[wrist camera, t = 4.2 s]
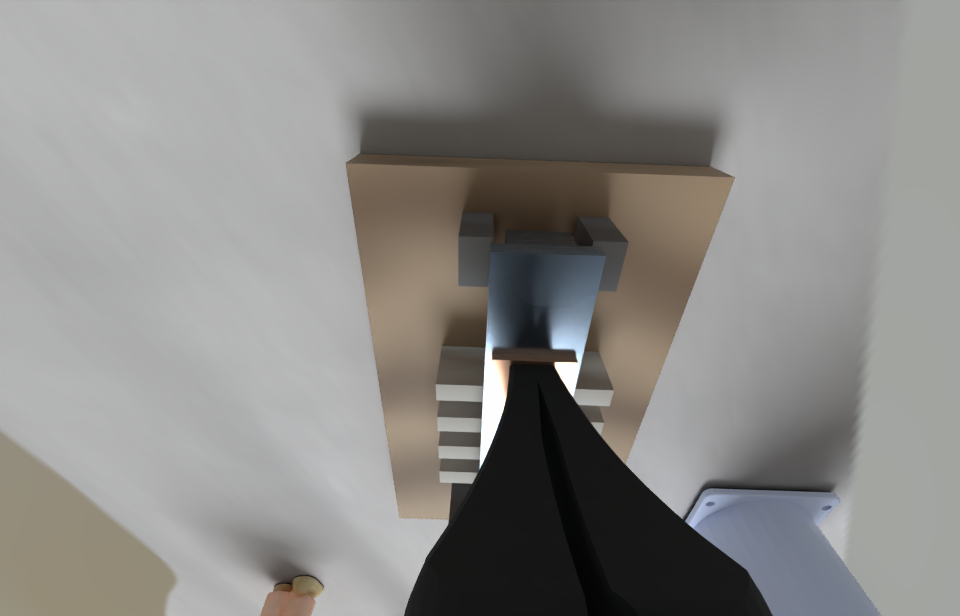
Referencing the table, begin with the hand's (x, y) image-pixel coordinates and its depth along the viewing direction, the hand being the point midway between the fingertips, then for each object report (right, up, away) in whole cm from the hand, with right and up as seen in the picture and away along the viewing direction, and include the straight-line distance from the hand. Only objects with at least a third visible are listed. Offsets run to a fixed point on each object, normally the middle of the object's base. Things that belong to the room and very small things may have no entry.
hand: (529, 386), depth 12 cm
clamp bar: (0, -1, +4) cm, 4 cm away
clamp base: (0, -1, +6) cm, 6 cm away
